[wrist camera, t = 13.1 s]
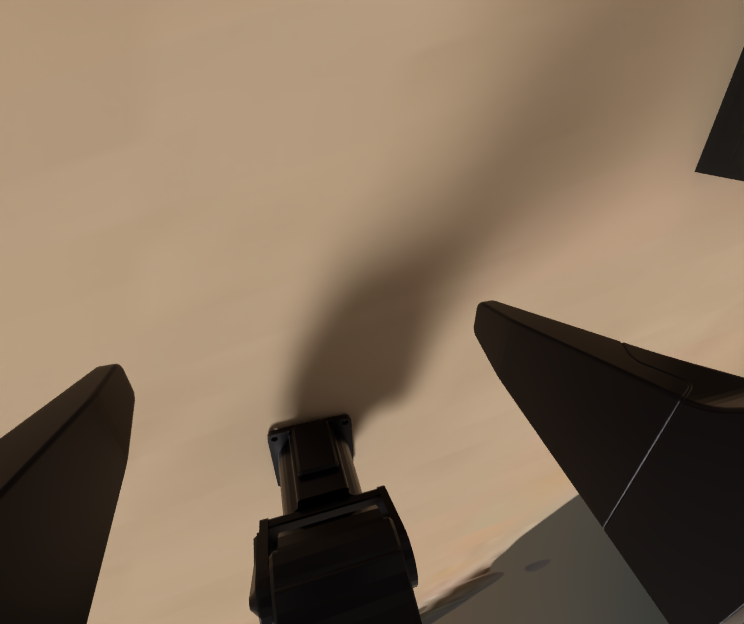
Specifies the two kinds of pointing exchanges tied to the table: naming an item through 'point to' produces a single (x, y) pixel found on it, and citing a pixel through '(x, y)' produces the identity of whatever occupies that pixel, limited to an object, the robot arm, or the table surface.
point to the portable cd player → (727, 133)
